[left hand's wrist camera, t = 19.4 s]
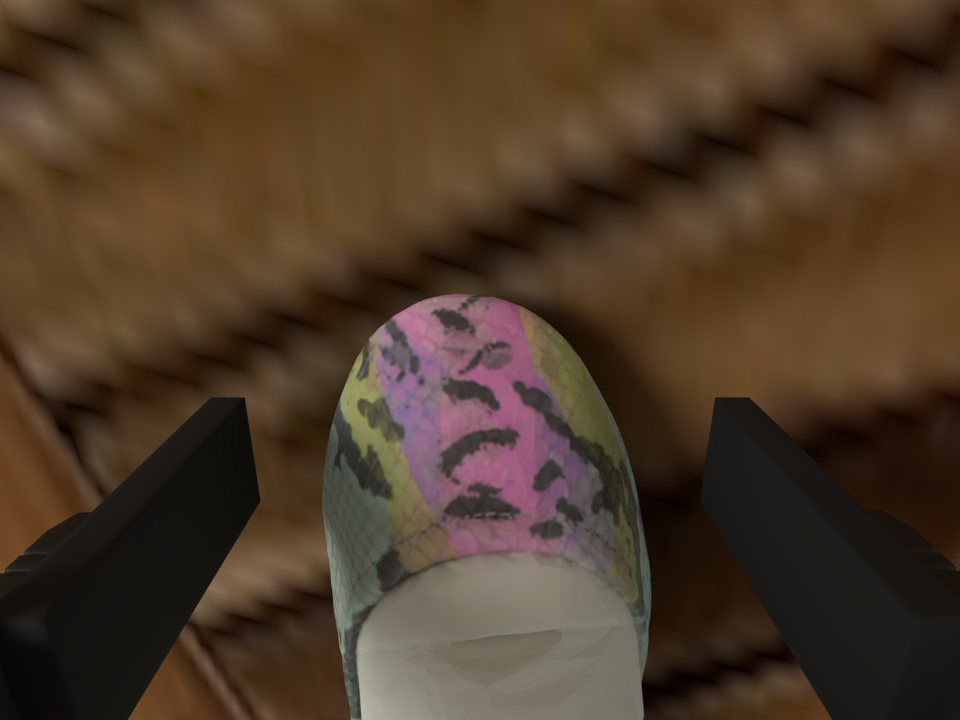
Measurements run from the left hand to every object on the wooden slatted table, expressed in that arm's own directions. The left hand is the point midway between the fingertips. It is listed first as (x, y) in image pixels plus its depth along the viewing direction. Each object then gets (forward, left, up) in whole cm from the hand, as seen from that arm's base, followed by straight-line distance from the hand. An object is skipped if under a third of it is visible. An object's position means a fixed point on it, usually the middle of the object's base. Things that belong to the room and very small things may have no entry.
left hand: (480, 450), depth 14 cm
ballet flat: (+3, +8, -2) cm, 9 cm away
